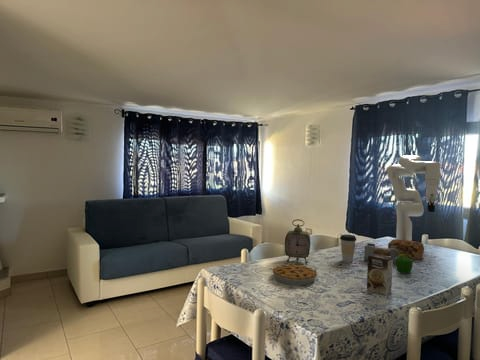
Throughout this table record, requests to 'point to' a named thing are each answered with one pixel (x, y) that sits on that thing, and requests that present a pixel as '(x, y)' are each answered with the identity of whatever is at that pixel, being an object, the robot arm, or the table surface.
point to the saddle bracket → (393, 254)
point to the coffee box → (379, 274)
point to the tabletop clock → (297, 243)
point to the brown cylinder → (383, 251)
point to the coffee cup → (347, 247)
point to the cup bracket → (368, 250)
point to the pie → (294, 274)
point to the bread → (408, 248)
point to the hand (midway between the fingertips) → (430, 210)
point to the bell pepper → (404, 264)
